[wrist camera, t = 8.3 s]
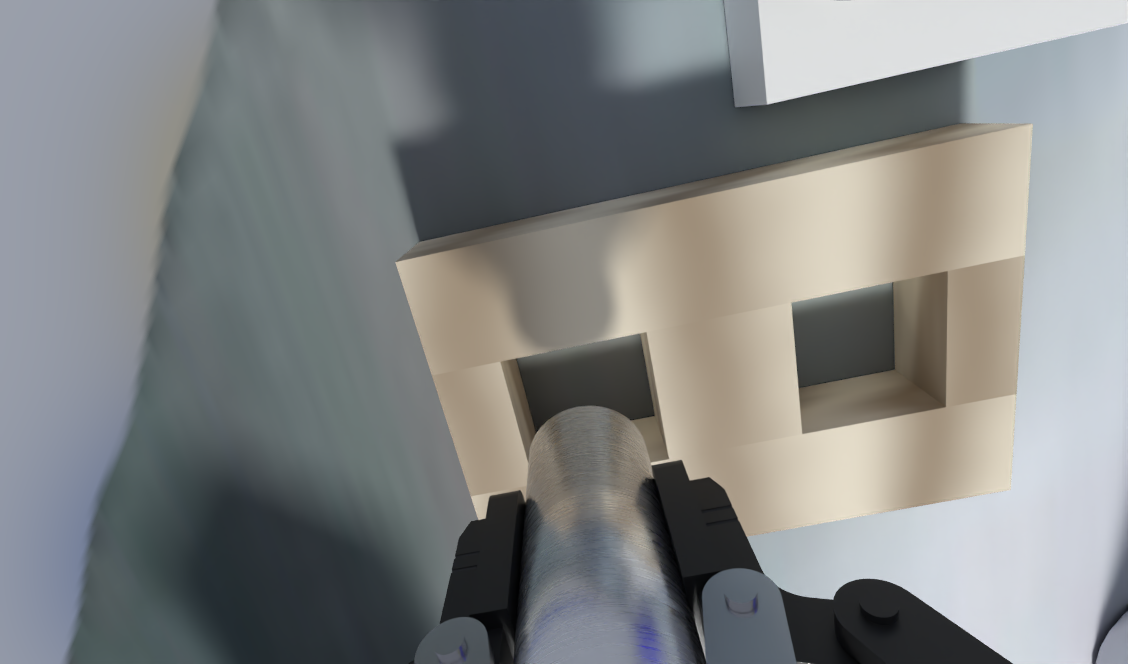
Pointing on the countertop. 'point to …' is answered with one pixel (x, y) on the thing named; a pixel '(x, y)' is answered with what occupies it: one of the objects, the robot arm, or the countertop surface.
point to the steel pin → (598, 551)
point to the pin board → (759, 323)
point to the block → (885, 38)
